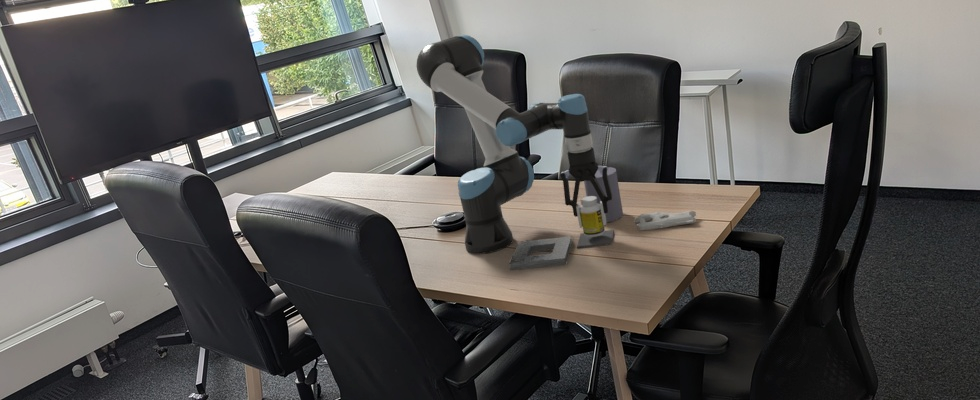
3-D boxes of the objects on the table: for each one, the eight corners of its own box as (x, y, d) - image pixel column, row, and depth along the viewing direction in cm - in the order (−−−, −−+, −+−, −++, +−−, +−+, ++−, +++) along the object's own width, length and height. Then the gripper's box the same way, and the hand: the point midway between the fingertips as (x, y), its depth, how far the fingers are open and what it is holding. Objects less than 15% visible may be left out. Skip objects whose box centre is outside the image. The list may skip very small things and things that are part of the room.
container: (584, 218, 239) (576, 174, 234) (612, 209, 242) (605, 165, 237) (601, 226, 229) (593, 180, 225) (629, 216, 232) (622, 170, 228)
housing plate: (510, 270, 211) (509, 263, 210) (520, 248, 226) (519, 242, 225) (566, 264, 207) (564, 258, 206) (572, 242, 221) (571, 236, 221)
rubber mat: (577, 248, 216) (576, 246, 216) (580, 235, 225) (580, 233, 225) (611, 244, 214) (611, 242, 213) (613, 231, 223) (613, 229, 223)
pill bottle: (604, 236, 215) (598, 200, 212) (583, 239, 217) (577, 203, 214) (605, 228, 221) (599, 193, 218) (584, 231, 223) (578, 196, 219)
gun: (694, 203, 222) (694, 215, 213) (696, 214, 223) (696, 227, 214) (633, 212, 228) (631, 225, 219) (635, 223, 229) (633, 235, 220)
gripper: (545, 157, 210) (559, 233, 217) (613, 148, 205) (625, 225, 212) (548, 150, 217) (562, 223, 224) (614, 140, 212) (626, 216, 219)
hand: (593, 224), depth 218 cm, fingers closed on pill bottle, 6 cm apart
